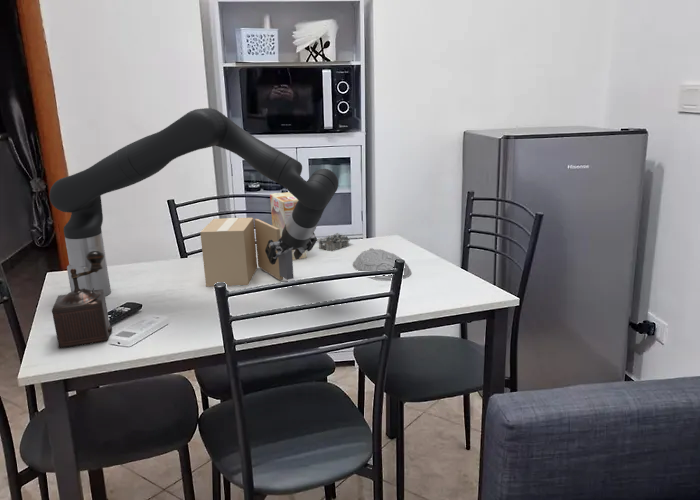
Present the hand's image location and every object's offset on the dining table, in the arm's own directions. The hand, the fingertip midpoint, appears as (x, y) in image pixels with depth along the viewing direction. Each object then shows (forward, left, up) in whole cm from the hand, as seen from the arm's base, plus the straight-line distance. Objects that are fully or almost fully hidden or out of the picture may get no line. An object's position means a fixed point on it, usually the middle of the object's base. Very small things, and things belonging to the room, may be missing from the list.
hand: (283, 259), depth 166 cm
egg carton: (+38, +1, -7) cm, 39 cm away
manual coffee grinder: (-44, +30, -7) cm, 54 cm away
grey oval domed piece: (+19, -23, -8) cm, 31 cm away
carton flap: (+4, +5, -6) cm, 9 cm away
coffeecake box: (+26, +12, -7) cm, 30 cm away
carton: (0, +18, -7) cm, 19 cm away
